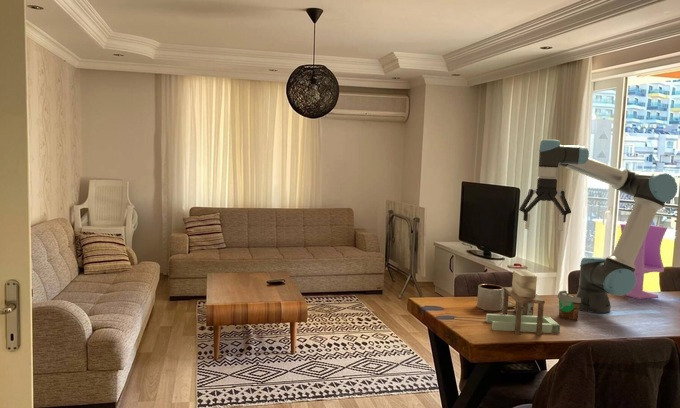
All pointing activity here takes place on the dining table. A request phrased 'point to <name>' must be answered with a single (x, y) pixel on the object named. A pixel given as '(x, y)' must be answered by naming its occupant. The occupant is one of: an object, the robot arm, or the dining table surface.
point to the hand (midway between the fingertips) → (543, 229)
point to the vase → (647, 260)
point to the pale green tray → (522, 323)
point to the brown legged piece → (525, 302)
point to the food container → (568, 306)
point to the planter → (490, 297)
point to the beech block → (524, 283)
